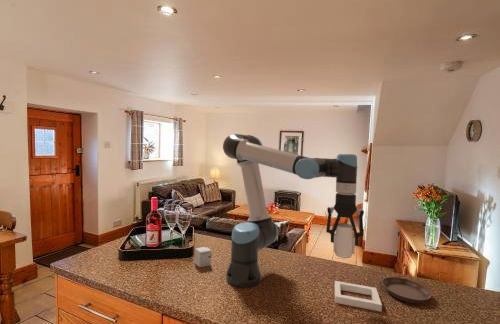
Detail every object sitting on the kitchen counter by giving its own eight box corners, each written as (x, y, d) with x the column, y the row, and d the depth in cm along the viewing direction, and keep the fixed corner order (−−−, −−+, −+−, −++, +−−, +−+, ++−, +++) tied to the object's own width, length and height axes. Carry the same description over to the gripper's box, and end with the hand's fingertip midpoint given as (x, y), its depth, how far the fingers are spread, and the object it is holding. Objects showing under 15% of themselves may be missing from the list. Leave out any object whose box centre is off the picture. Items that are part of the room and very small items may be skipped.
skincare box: (199, 267, 127) (199, 252, 126) (194, 262, 132) (194, 248, 132) (211, 265, 130) (211, 250, 130) (205, 260, 135) (206, 246, 135)
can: (353, 259, 103) (354, 228, 102) (335, 257, 104) (336, 226, 104) (350, 253, 109) (351, 223, 109) (334, 251, 111) (335, 222, 110)
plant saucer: (435, 295, 112) (435, 288, 112) (425, 312, 99) (425, 304, 99) (389, 279, 124) (389, 273, 124) (375, 292, 112) (375, 285, 112)
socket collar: (335, 302, 102) (335, 296, 102) (334, 286, 115) (334, 280, 115) (381, 311, 98) (381, 304, 98) (375, 293, 110) (376, 287, 110)
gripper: (319, 193, 105) (317, 251, 106) (374, 196, 100) (371, 258, 100) (320, 190, 112) (318, 245, 113) (371, 193, 107) (369, 251, 107)
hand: (343, 251), depth 107 cm, fingers closed on can, 6 cm apart
